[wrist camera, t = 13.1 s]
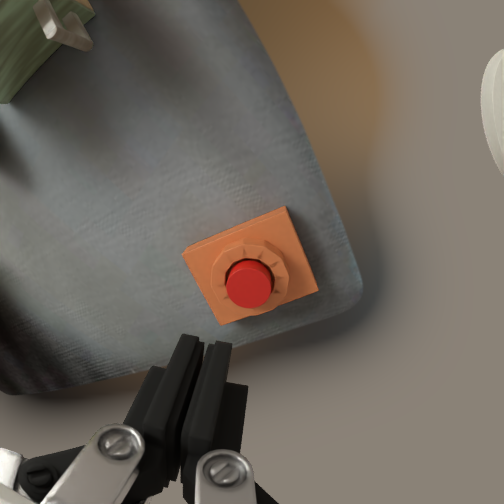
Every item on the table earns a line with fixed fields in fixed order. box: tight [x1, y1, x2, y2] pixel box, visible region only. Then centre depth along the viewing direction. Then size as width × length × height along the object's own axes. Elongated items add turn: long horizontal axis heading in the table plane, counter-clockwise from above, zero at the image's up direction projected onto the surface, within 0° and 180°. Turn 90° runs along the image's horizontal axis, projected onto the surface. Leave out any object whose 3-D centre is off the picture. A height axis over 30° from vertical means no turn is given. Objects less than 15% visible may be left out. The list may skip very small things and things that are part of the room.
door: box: [0, 0, 95, 104], centre depth 19 cm, size 6×15×12 cm, turn 121°
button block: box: [182, 206, 319, 326], centre depth 29 cm, size 10×8×4 cm
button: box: [226, 260, 271, 308], centre depth 27 cm, size 4×4×2 cm
